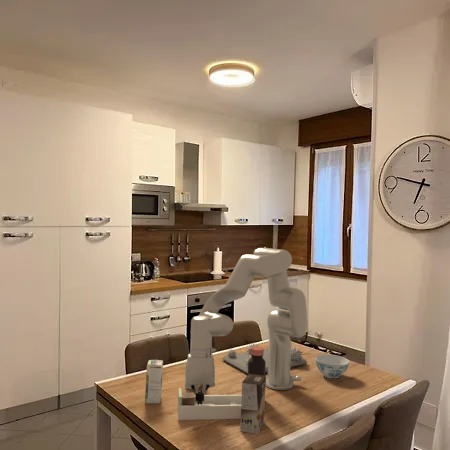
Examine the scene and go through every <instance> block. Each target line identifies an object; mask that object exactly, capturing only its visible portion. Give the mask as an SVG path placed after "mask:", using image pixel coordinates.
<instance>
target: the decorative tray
mask: <svg viewBox="0 0 450 450" xmlns="http://www.w3.org/2000/svg"><path fill="white" fill-rule="evenodd" d="M248 345H249V346H246V349H247V350H246V351H245V352H240V353H237V351H236V349H233V348H231V349H228V350H227V352H226V353H227V354H226V355H223V357H222V360H223V361H224V362H225V363H227V364H229V365H231V366H233V367H235V368H236V369H238V370H240V371H242V372H243V373H245V374H247V375H248V360H249V359H250V358H251V357H252V356H251V348H252V347H259V345H258V344H257V343H252V344H251V343H249V344H248ZM263 349H264V354H263V359H264V360H265V362H266V365H265V374H266V373H268V352H269V347H268V348H263ZM301 349H302V348H300V347H299V346H298V347H297V346H295V345H293V346H292V347H291V366H290V369H291V368H294V367H295V366H296V367H300V365H301V366H304V365H306V364H307V363H308V361H307V359H305V358H304V357H303V356H304V355H305V354H304V351H301ZM296 367H295V368H296Z"/></svg>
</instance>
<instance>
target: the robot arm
mask: <svg viewBox="0 0 450 450" xmlns="http://www.w3.org/2000/svg"><path fill="white" fill-rule="evenodd" d="M292 262H293V257H292V254H291V253H290V252H289V251H288V250H286V249H279V248H271V247H270V248H269V247H258V248H257V249H255V250H254V251H253V254H251V253H250V254H249V253H247V254H243V255H241V256H240V258H239V259H238V261H237V262H236V264H235V267H234V268H233V271H232V272H231V274H230V276H229V277H228V279H227V281H226V283H225V284H224V286H222V287H220V288H219V289H218V290H217V291H215V292H214V293H213V294H212V295H211V296H209V297H208V299H207V300H206V301H205V302H204V305H203V307H202V309H200V311H199V314H198V315H197V316H193V317H192V318H191V320H190V351H189V353H188V354H187V357H186V358H187V359H186V362H187V365H186V364H185V373H186V382H185V381H184V388H185V387H187V388H192V389H191V390H192V391H194V394H195V395H196V396H195V401H197V403H198V405H199V404H201V405H202V401H204V395H205V393H206V391H208V389H210V388H214V387H216V383H215V379H216V377H215V376H216V375H215V374H216V372H215V371H216V370H215V368H216V367H215V358H214V354H213V353H216V350H217V349H216V347H215V348H214V347H213V341H212V340H213V337H224V336H228V335H229V334H230V333H231V332H232V331H233V329H234V322H233V319H232V318H231V317H229V316H228V315H225V314H222V313H220V312H219V311H220V310H221V308H223V307H224V306H225V305H227V304H229V303H231V302H234V301H237V300H240V299H243V298H244V297H245V296H246V294H247V292H248V290H249V289H250V287H251V285H252V283H253V281H254V279H255V278H260V279H267V287H268V289H267V291H268V299H269V304H270V305H271V306H272V307H274V308H276V309H274V310H272V311H270V312H269V314H268V315H267V318H266V320H267V321H266V324H267V329H268V348H269V352H268V372H267V377H266V386H265V387H266V388H269V389H272V390H275V391H276V390H279V391H285V390H286V391H287V390H290V389H292V388H294V382H301V381H302V376H301V375H299V376H298V375H296V374H291V368H290V366H291V349H292V341H291V340H292V339H291V338H290V337H292V338H297V339H298V338H302V337H303V336H305V335H306V332H307V330H308V313H307V299H306V296H305V293H304V292H303V290H301V289H299V288H297V287H291V286H290V285H289V277H288V272H287V270H289V268H291V265H292ZM198 385H201V386H200V389H198ZM187 388H186V389H187Z"/></svg>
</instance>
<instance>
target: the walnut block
mask: <svg viewBox="0 0 450 450" xmlns="http://www.w3.org/2000/svg"><path fill="white" fill-rule="evenodd" d="M194 395H195V392H182V406H184V405H194V400H195V397H194Z"/></svg>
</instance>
